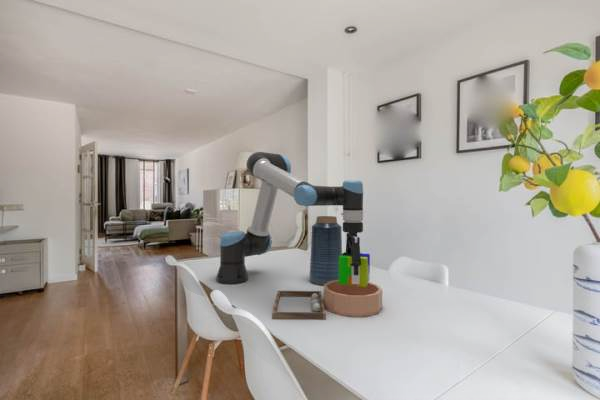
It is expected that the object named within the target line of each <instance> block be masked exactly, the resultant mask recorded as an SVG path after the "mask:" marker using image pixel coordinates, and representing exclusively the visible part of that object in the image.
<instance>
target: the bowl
mask: <svg viewBox="0 0 600 400" xmlns="http://www.w3.org/2000/svg"><path fill="white" fill-rule="evenodd" d="M323 302H324V307H325V310H327V311H329V312H330V313H333V314H336V315H339V316H344V317H350V318H351V317H353V318H354V317H355V318H362V317H371V316H374V315H377V314H378V313H380V312H381V310H382V307H383V289H382V287H381V286H380V285H378V284H375V283H373V282H370V281H369V282H368V285H367V287H362V286H352V285H342V284H339V280H335V281H329V282H328V283H326V284H324V285H323Z"/></svg>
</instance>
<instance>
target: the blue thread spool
mask: <svg viewBox="0 0 600 400" xmlns="http://www.w3.org/2000/svg"><path fill="white" fill-rule="evenodd" d="M337 217H338V216H332V215H331V216H330V215H326V216H325V215H320V216H319V215H318V216H316V219H315V223H314V224H312V226H311V239H310V241H311V242H310V257H309V258H310V259H309V261H310V262H309V278H308V279H309V281H310V282H311V283H312V284H314V285H318V286H324V284H326V283H328V282H329V281H335V280H339V256H340V255H342V254H343V244H342V243H343V241H342V240H343V239H342V238H343V237H342V236H343V235H342V232H343V226H342V225H340V224H339V223H338V218H337Z"/></svg>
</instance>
